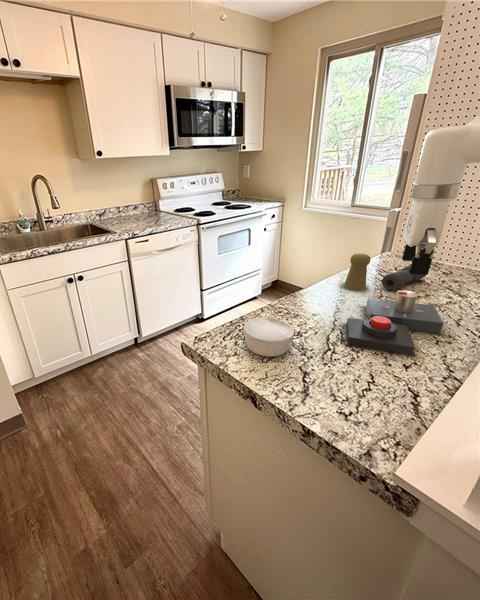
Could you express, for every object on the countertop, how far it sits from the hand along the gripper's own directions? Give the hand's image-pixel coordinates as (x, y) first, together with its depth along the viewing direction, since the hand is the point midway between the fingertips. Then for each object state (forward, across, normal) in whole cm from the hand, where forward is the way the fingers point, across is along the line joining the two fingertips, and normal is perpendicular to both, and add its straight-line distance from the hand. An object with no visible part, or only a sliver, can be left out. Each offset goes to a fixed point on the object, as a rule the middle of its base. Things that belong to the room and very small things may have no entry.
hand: (413, 267), depth 73 cm
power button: (+11, +11, -6) cm, 17 cm away
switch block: (+15, +11, -6) cm, 19 cm away
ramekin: (+15, +23, -29) cm, 39 cm away
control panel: (+15, -1, 0) cm, 15 cm away
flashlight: (+15, -27, +4) cm, 32 cm away
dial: (+12, -1, 0) cm, 12 cm away
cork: (+15, -21, -9) cm, 28 cm away
